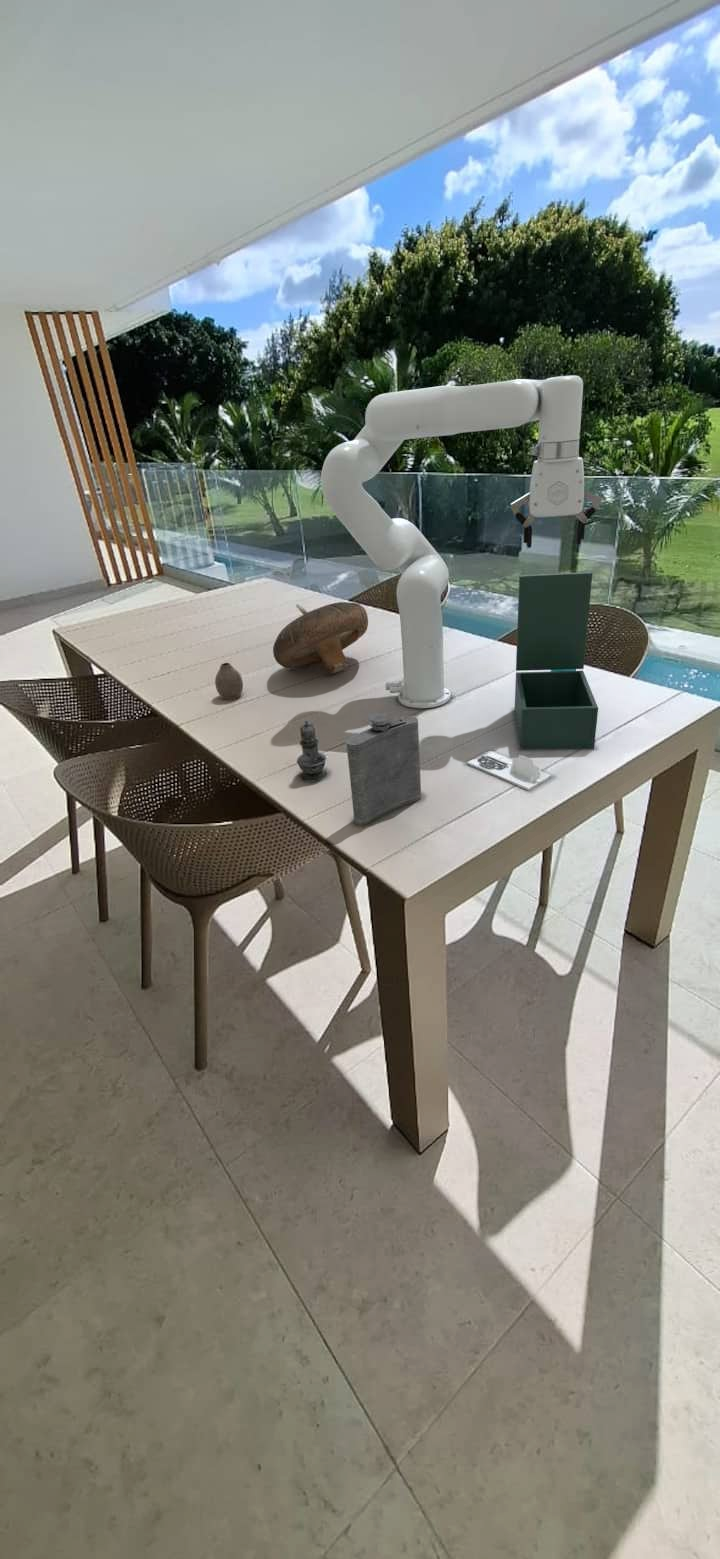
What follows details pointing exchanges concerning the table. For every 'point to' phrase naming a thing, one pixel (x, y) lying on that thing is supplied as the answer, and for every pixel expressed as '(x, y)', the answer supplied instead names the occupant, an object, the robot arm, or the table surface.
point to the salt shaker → (311, 755)
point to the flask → (384, 767)
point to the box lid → (552, 621)
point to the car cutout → (511, 769)
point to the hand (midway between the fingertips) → (552, 544)
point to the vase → (228, 682)
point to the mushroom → (321, 636)
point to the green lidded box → (555, 710)
